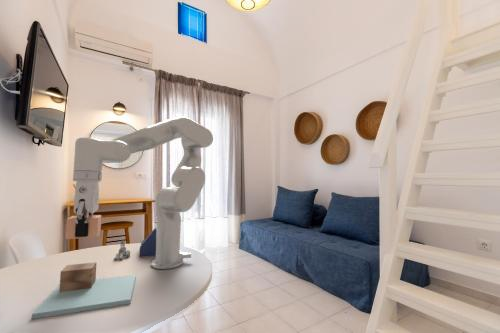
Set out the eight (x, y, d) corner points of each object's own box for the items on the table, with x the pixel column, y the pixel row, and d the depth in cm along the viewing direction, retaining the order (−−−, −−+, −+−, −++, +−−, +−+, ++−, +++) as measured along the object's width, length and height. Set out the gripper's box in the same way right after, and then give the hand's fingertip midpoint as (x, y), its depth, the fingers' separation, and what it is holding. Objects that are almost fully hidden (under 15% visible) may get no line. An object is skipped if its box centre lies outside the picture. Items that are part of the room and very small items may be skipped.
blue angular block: (141, 249, 116) (142, 224, 117) (167, 247, 121) (168, 223, 121) (139, 256, 105) (140, 229, 106) (167, 254, 109) (168, 228, 110)
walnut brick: (95, 280, 78) (96, 262, 78) (91, 288, 72) (92, 268, 73) (66, 284, 75) (67, 265, 75) (59, 292, 70) (60, 271, 70)
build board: (135, 278, 83) (135, 274, 83) (130, 303, 66) (130, 299, 66) (59, 287, 75) (59, 283, 75) (31, 319, 58) (31, 314, 58)
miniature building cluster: (133, 261, 100) (133, 243, 100) (111, 262, 98) (112, 243, 99) (140, 255, 108) (141, 238, 109) (120, 255, 107) (121, 238, 108)
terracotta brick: (100, 233, 78) (101, 215, 78) (97, 237, 73) (98, 217, 73) (71, 235, 75) (72, 216, 75) (65, 239, 70) (66, 218, 70)
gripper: (95, 177, 68) (91, 240, 67) (106, 177, 84) (103, 228, 83) (64, 176, 66) (59, 242, 64) (80, 176, 81) (77, 229, 80)
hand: (84, 233), depth 74 cm, fingers closed on terracotta brick, 5 cm apart
